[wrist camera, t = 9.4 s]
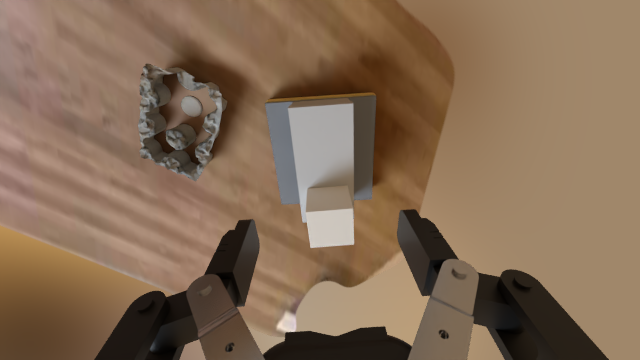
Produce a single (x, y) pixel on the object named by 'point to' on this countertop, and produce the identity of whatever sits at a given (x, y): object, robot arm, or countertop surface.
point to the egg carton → (181, 135)
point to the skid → (322, 145)
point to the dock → (284, 148)
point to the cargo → (329, 216)
